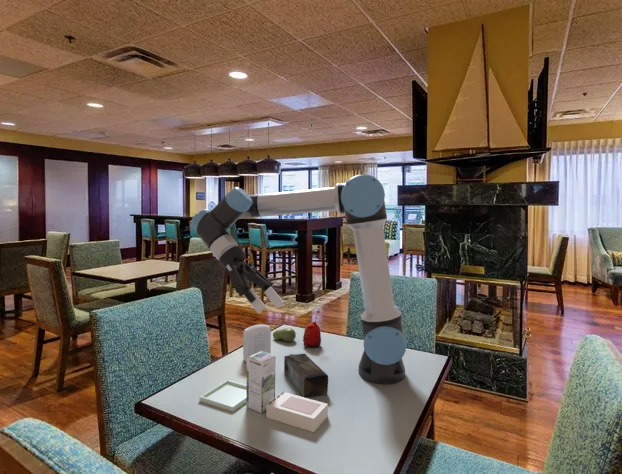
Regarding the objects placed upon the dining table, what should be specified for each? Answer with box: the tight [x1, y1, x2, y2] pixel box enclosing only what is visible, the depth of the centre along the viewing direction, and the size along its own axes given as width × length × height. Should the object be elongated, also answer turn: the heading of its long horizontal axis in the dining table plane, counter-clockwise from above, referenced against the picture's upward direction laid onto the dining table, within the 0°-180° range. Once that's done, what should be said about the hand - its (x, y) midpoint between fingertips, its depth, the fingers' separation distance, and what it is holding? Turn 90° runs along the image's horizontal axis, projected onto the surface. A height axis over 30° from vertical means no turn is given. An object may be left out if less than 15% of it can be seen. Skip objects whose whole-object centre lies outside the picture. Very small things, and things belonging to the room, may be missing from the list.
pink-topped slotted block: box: [266, 391, 329, 433], centre depth 102 cm, size 14×8×4 cm, turn 62°
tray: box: [198, 379, 247, 413], centre depth 113 cm, size 12×12×1 cm
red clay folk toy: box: [302, 308, 322, 348], centre depth 153 cm, size 8×7×15 cm
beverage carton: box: [283, 353, 329, 398], centre depth 122 cm, size 8×19×7 cm, turn 22°
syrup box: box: [245, 351, 277, 414], centre depth 107 cm, size 6×6×14 cm
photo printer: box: [242, 323, 272, 363], centre depth 140 cm, size 10×4×12 cm, turn 123°
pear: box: [272, 327, 297, 343], centre depth 159 cm, size 6×5×10 cm
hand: (272, 308), depth 111 cm, fingers open, 13 cm apart
